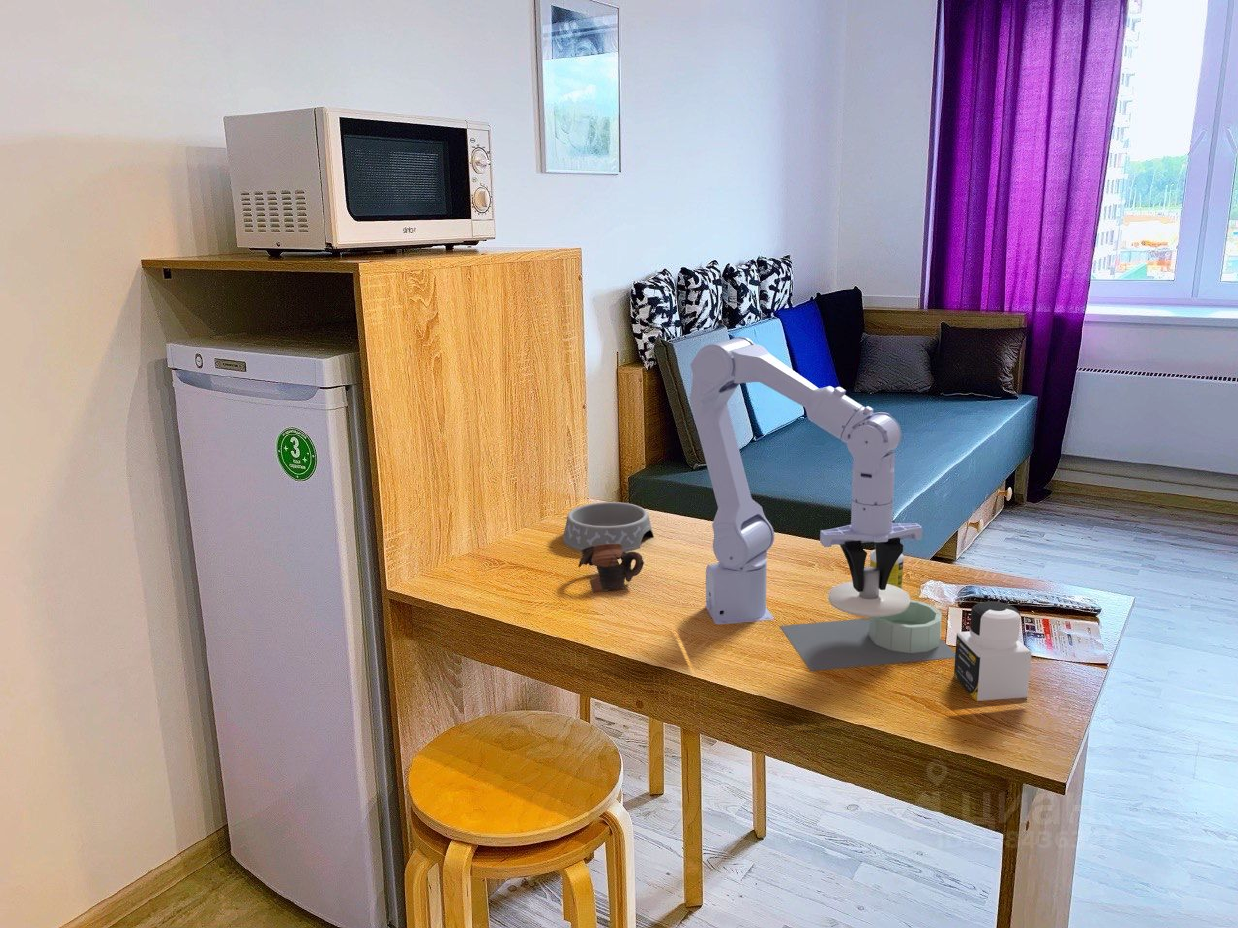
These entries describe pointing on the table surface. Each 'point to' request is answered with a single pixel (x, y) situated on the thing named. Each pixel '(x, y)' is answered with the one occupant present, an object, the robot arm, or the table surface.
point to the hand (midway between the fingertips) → (869, 588)
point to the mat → (849, 646)
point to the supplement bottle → (896, 571)
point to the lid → (869, 597)
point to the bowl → (908, 629)
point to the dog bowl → (606, 525)
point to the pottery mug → (611, 565)
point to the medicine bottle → (993, 654)
